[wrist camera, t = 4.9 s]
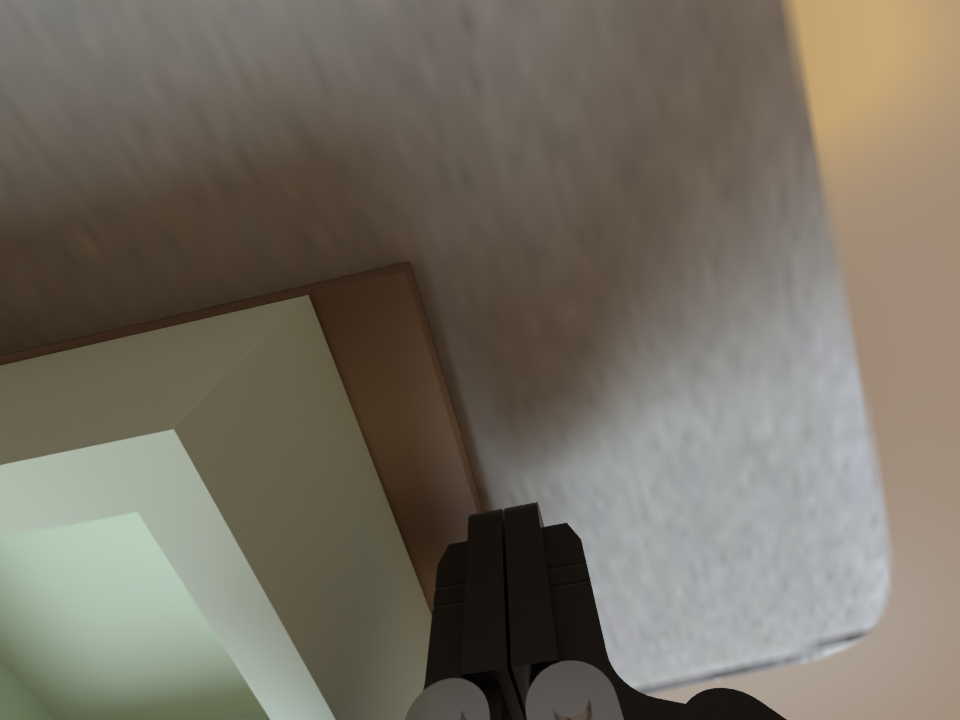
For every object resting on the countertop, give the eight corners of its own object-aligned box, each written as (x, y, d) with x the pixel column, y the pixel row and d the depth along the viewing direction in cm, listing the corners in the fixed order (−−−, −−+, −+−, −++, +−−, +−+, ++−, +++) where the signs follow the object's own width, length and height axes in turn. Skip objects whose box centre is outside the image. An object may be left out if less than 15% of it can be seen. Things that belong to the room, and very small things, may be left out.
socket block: (-195, 410, 12) (-623, 594, 7) (308, 295, 11) (173, 429, 6) (88, 731, 17) (-61, 961, 12) (456, 678, 15) (443, 913, 11)
